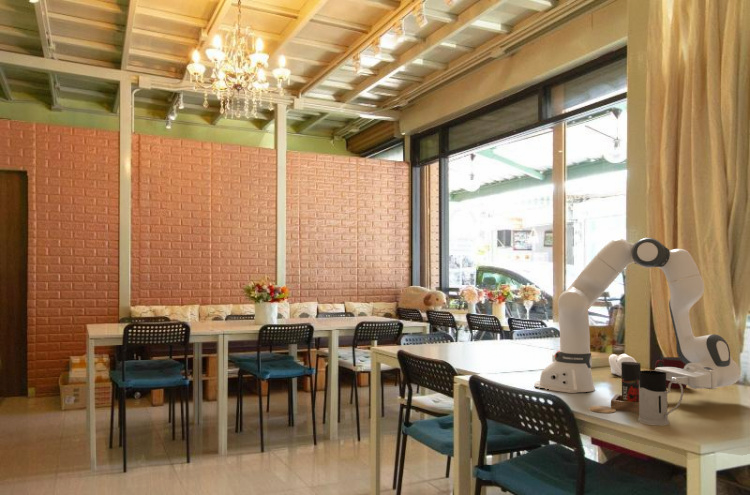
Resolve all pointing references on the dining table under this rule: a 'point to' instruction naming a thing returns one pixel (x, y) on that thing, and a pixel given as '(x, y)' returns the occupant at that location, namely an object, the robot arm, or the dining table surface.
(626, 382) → the deodorant
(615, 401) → the holder frame
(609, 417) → the dining table surface
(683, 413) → the dining table surface
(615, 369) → the white lumpy blob
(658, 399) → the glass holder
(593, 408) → the cork coaster
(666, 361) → the mug
